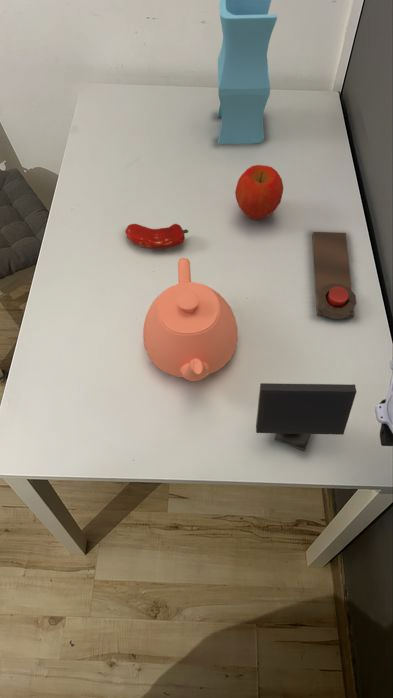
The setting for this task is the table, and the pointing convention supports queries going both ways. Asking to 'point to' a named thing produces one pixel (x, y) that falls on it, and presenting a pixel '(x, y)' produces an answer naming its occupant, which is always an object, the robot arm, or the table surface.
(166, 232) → the vegetable
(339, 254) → the brown board with ring
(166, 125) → the table surface
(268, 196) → the apple
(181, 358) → the teapot
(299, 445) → the monitor stand
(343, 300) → the power button
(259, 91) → the vase
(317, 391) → the panel
